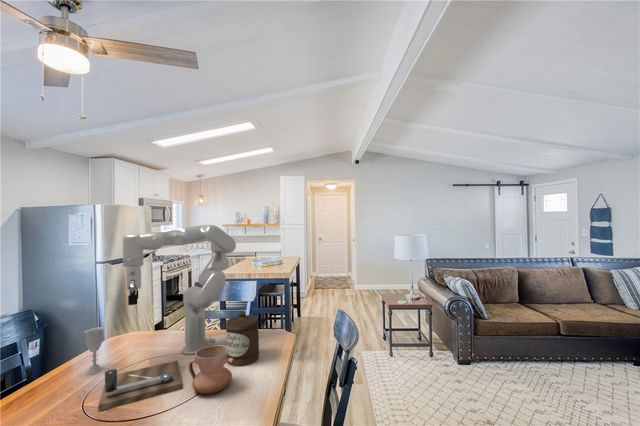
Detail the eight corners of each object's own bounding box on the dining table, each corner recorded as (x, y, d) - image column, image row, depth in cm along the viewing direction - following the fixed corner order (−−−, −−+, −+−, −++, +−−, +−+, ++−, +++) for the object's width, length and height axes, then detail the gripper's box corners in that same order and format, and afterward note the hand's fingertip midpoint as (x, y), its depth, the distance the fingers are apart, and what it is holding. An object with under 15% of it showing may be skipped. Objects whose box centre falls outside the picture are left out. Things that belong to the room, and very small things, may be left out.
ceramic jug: (240, 378, 120) (239, 343, 120) (225, 399, 105) (224, 359, 106) (199, 377, 122) (199, 342, 123) (178, 397, 108) (178, 358, 108)
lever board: (177, 364, 132) (177, 359, 132) (181, 388, 113) (181, 382, 113) (107, 381, 119) (107, 376, 119) (98, 411, 100) (98, 404, 100)
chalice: (92, 376, 123) (92, 333, 124) (79, 375, 125) (79, 332, 125) (108, 368, 131) (108, 327, 131) (96, 366, 132) (96, 326, 132)
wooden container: (219, 363, 133) (218, 314, 133) (239, 349, 147) (239, 305, 147) (246, 369, 127) (245, 318, 128) (265, 354, 141) (264, 308, 142)
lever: (172, 375, 118) (172, 355, 118) (173, 380, 114) (173, 360, 114) (105, 392, 107) (105, 370, 108) (103, 398, 103) (103, 375, 104)
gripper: (142, 264, 122) (142, 305, 122) (143, 259, 137) (144, 296, 137) (121, 266, 118) (121, 308, 118) (124, 261, 133) (124, 298, 133)
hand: (133, 301), depth 127 cm, fingers open, 9 cm apart
